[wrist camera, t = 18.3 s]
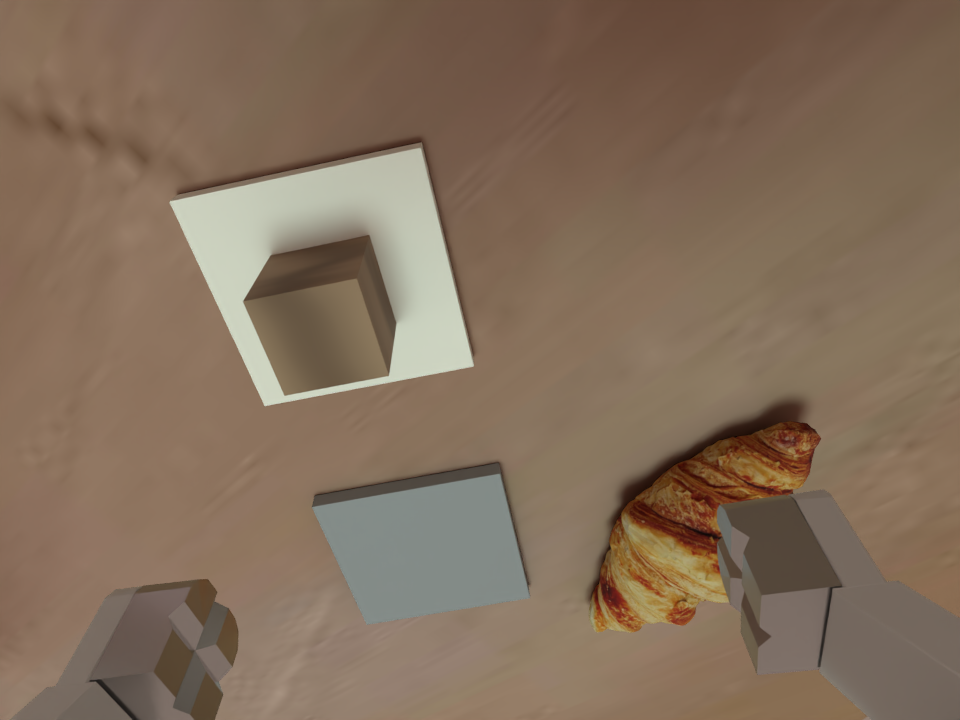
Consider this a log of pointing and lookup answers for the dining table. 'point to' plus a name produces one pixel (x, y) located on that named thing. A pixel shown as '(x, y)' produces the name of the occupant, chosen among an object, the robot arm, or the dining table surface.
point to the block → (323, 316)
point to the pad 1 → (326, 219)
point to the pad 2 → (425, 543)
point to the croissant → (691, 527)
